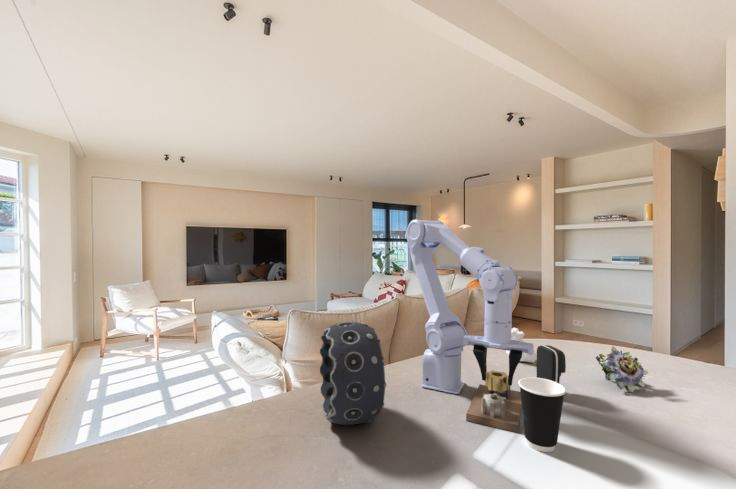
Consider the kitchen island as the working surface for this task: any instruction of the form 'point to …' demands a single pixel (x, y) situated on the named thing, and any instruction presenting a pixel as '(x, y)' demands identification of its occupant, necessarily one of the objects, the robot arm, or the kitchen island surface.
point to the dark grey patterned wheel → (352, 373)
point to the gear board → (497, 420)
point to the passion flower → (622, 369)
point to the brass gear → (497, 381)
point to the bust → (518, 336)
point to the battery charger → (550, 363)
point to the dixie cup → (541, 411)
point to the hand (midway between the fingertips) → (496, 381)
